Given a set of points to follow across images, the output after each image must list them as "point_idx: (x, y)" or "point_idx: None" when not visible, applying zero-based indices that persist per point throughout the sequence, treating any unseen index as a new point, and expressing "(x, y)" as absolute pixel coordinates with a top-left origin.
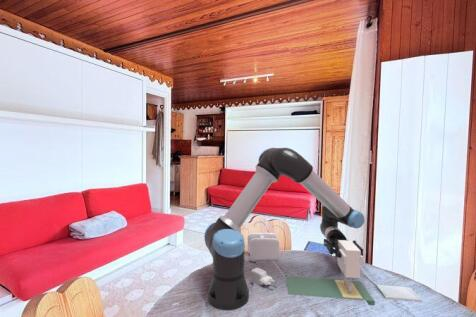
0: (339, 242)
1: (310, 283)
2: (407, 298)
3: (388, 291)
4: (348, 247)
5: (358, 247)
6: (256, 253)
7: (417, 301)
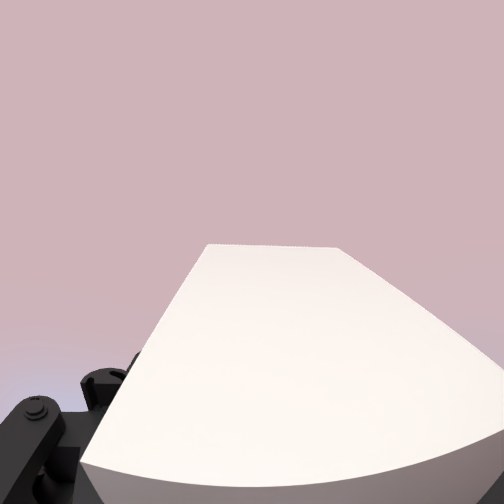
0: (465, 357)
1: None
2: None
3: None
4: (311, 264)
5: (19, 465)
6: None
7: None
